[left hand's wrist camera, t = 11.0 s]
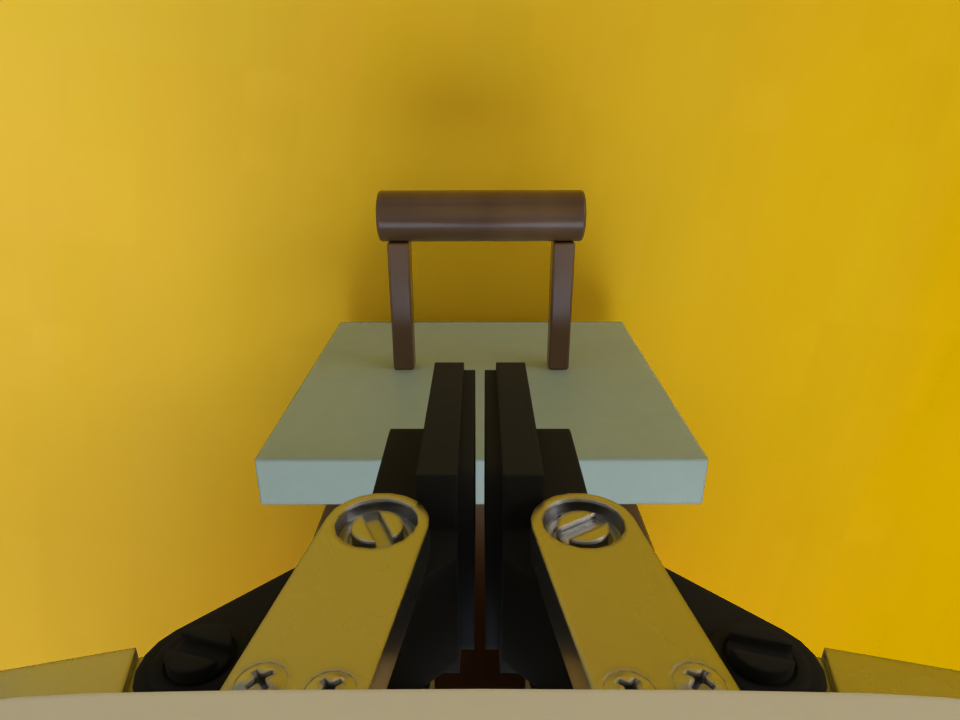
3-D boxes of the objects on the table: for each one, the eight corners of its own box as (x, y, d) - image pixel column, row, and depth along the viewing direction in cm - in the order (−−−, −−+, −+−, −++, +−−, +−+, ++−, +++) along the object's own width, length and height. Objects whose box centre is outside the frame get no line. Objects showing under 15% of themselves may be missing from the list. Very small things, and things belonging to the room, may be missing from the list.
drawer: (327, 173, 21) (218, 228, 13) (634, 173, 21) (743, 226, 13) (374, 724, 31) (330, 980, 22) (589, 724, 31) (633, 980, 22)
